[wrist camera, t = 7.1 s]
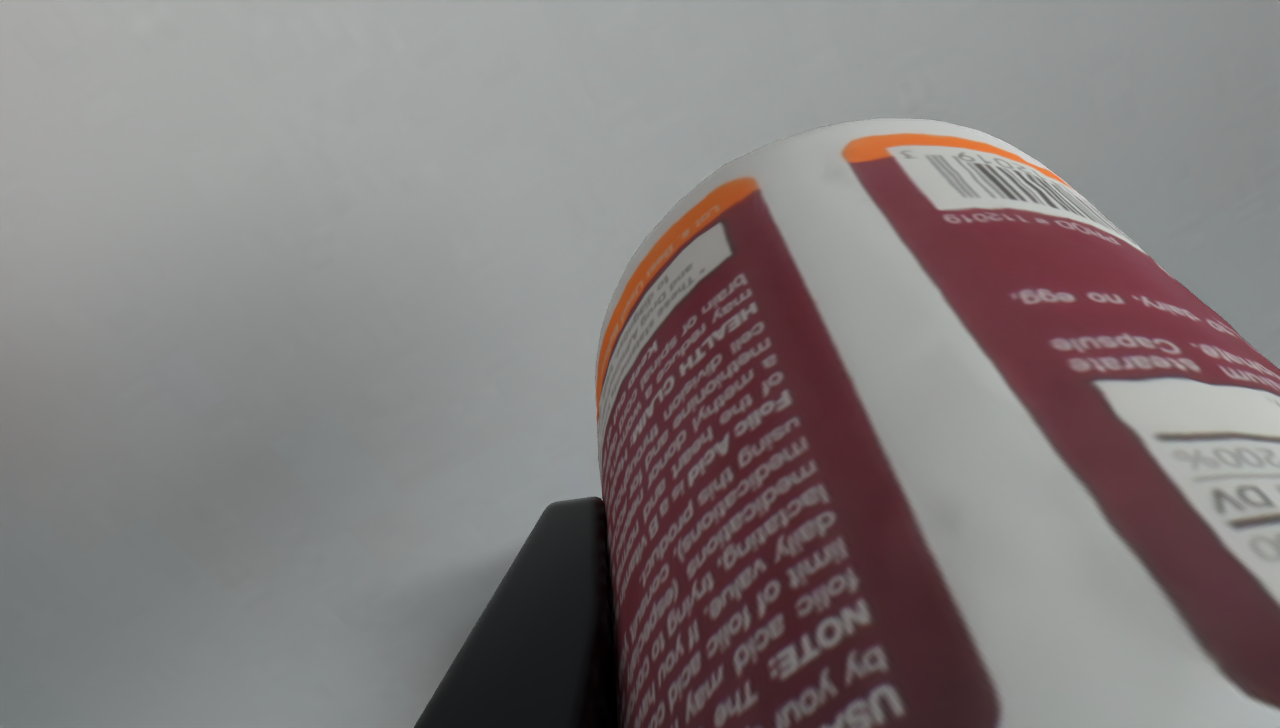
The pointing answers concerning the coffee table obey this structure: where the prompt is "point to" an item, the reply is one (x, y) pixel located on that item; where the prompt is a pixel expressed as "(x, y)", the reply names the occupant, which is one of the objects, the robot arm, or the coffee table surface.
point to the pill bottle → (929, 455)
